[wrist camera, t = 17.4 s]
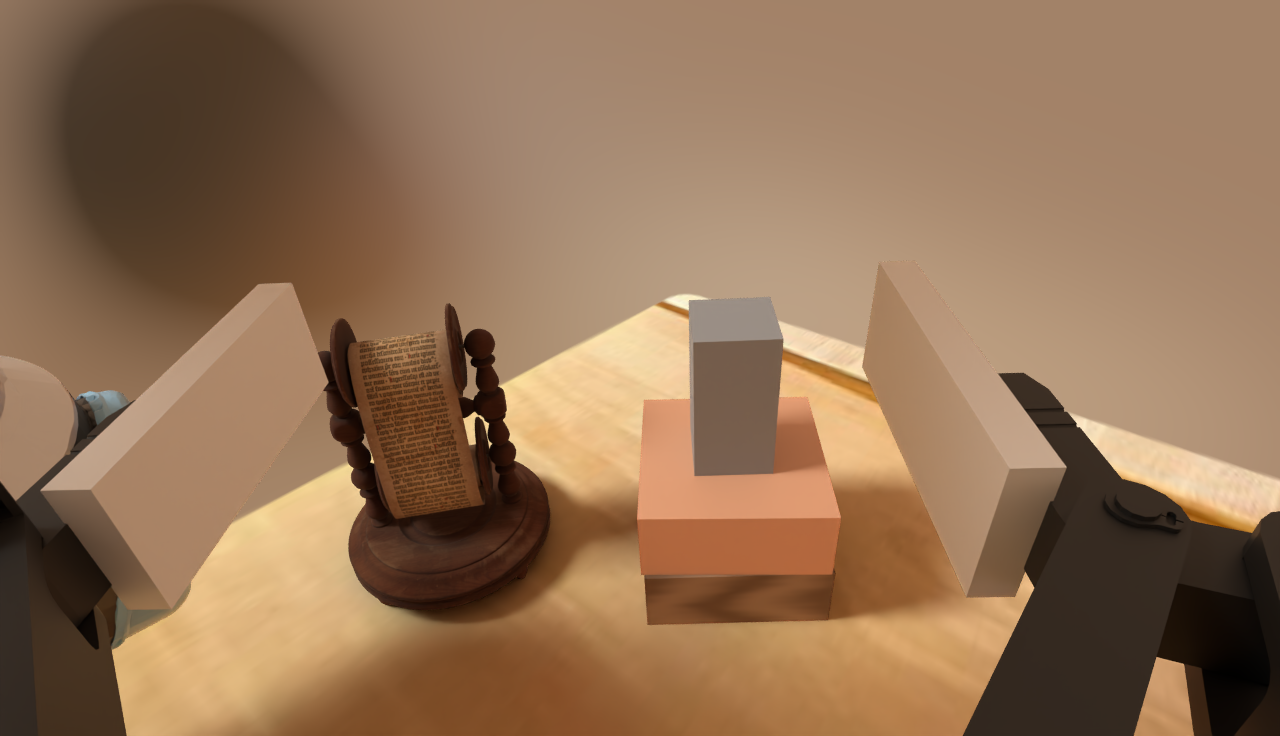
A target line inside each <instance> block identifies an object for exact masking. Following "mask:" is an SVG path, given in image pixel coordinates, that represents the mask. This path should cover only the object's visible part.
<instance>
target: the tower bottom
mask: <svg viewBox="0 0 1280 736" xmlns="http://www.w3.org/2000/svg"><path fill="white" fill-rule="evenodd" d="M834 579H835V571H834V567H833V573H832V575H645V593H646V608H647V622H648V625H658V624H697V623H735V622H774V621H812V620H828V615H829V609H830V603H831V597H832V591H833V585H834Z"/></svg>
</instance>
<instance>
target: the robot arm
mask: <svg viewBox="0 0 1280 736" xmlns="http://www.w3.org/2000/svg"><path fill="white" fill-rule="evenodd" d="M862 367H863V369H864V372H865V374H866V376H867V378H868V381H869V383H870V385H871V387H872V389H873V392H874V394H875V396H876V398H877V401H878V403H879V405H880V407H881V409H882V412H883V414H884V416H885V418H886V420H887V423H888V425H889V427H890V429H891V432H892V434H893V436H894V438H895V440H896V443H897V445H898V447H899V449H900V452H901V454H902V456H903V458H904V460H905V463H906V465H907V467H908V469H909V472H910V474H911V476H912V478H913V480H914V483H915V485H916V487H917V489H918V492H919V494H920V496H921V498H922V500H923V503H924V505H925V507H926V509H927V512H928V514H929V516H930V518H931V520H932V523H933V525H934V527H935V529H936V531H937V534H938V536H939V538H940V540H941V543H942V545H943V547H944V549H945V551H946V554H947V556H948V558H949V560H950V563H951V565H952V567H953V569H954V571H955V574H956V576H957V578H958V580H959V583H960V585H961V587H962V589H963V591H964V594H965V596H966V597H1015V596H1016V593H1017V591H1018V588H1019V586H1020V583H1021V581H1022V578H1023V576H1024V573H1025V572H1026V573H1027V575H1028V577H1029V579H1030V581H1031V582H1032V584H1033V586H1034V590H1033V592H1032V594H1031V596H1030V598H1029V600H1028V602H1027V605H1026V607H1025V609H1024V611H1023V613H1022V615H1021V617H1020V619H1019V621H1018V623H1017V625H1016V627H1015V629H1014V631H1013V633H1012V635H1011V637H1010V640H1009V642H1008V644H1007V646H1006V648H1005V650H1004V652H1003V654H1002V656H1001V658H1000V660H999V662H998V664H997V666H996V668H995V670H994V672H993V675H992V677H991V679H990V681H989V683H988V685H987V687H986V689H985V691H984V693H983V695H982V697H981V699H980V701H979V703H978V705H977V707H976V710H975V712H974V714H973V716H972V718H971V720H970V722H969V724H968V726H967V728H966V730H965V732H964V734H963V736H1134V732H1135V729H1136V726H1137V722H1138V719H1139V715H1140V712H1141V708H1142V705H1143V701H1144V698H1145V694H1146V691H1147V688H1148V684H1149V681H1150V677H1151V674H1152V670H1153V667H1154V663H1155V660H1156V657H1159V658H1163V659H1167V660H1171V661H1175V662H1179V663H1183V664H1184V666H1185V673H1186V680H1187V688H1188V695H1189V702H1190V709H1191V717H1192V724H1193V731H1194V736H1280V511H1278V512H1271V513H1270V514H1268V515H1267V516H1265V517H1264V518H1263V519H1261V521H1260V522H1259V524H1258V525H1257V527H1256V528H1255V530H1254V531H1253V533H1249V532H1244V531H1239V530H1234V529H1229V528H1224V527H1219V526H1213V525H1208V524H1203V523H1198V522H1195V521H1191V520H1190V519H1189V518H1188V516H1187V515H1186V513H1185V512H1184V511H1183V509H1182V508H1181V507H1180V506H1179V505H1178V504H1176V503H1175V502H1174V501H1172V500H1171V499H1170V498H1169V497H1167V496H1166V495H1164V494H1162V493H1160V492H1158V491H1156V490H1154V489H1152V488H1150V487H1148V486H1146V485H1143V484H1139V483H1135V482H1132V481H1128V480H1124V479H1122V478H1121V477H1120V476H1119V475H1118V473H1117V472H1116V471H1115V470H1114V469H1113V467H1112V466H1111V465H1110V464H1109V462H1108V461H1107V460H1106V459H1105V458H1104V456H1103V455H1102V454H1101V453H1100V451H1099V450H1098V449H1097V448H1096V447H1095V445H1094V444H1093V443H1092V442H1091V440H1090V439H1089V438H1088V437H1087V436H1086V434H1085V433H1084V432H1083V431H1082V429H1081V428H1080V427H1077V426H1076V424H1077V423H1076V422H1075V421H1074V420H1073V418H1072V417H1071V416H1070V415H1069V414H1068V412H1064V407H1063V406H1062V405H1061V404H1060V403H1059V401H1058V400H1057V399H1056V398H1055V396H1054V395H1053V394H1052V393H1051V391H1049V389H1048V388H1046V387H1045V386H1043V385H1041V384H1040V383H1038V382H1037V381H1035V380H1034V379H1032V378H1031V377H1029V376H1028V375H1026V374H1024V373H1002V374H998V373H997V372H996V370H995V369H994V368H993V366H992V365H991V364H990V362H989V361H988V360H987V358H986V357H985V356H984V354H983V353H982V351H981V350H980V349H979V347H978V346H977V345H976V343H975V342H974V341H973V339H972V338H971V337H970V335H969V334H968V333H967V331H966V330H965V328H964V327H963V326H962V324H961V323H960V322H959V320H958V319H957V318H956V316H955V315H954V313H953V312H952V311H951V309H950V308H949V307H948V305H947V304H946V303H945V301H944V300H943V298H942V297H941V296H940V294H939V293H938V292H937V290H936V289H935V288H934V286H933V285H932V283H931V282H930V281H929V279H928V278H927V277H926V275H925V274H924V273H923V271H922V270H921V269H920V267H919V266H918V264H917V263H916V262H915V261H890V262H879V265H878V272H877V278H876V284H875V291H874V297H873V303H872V309H871V316H870V322H869V328H868V334H867V340H866V347H865V353H864V359H863V366H862ZM327 384H328V380H327V377H326V374H325V371H324V369H323V366H322V363H321V361H320V358H319V355H318V353H317V350H316V347H315V344H314V342H313V339H312V337H311V334H310V331H309V328H308V326H307V323H306V320H305V317H304V315H303V312H302V309H301V307H300V304H299V301H298V299H297V296H296V293H295V290H294V288H293V285H292V283H276V284H258V285H257V286H256V287H255V288H254V289H253V290H252V291H251V292H250V293H249V294H248V295H247V296H246V297H245V298H244V299H242V300H241V301H240V302H239V303H238V304H237V305H236V306H235V307H234V308H233V309H232V310H231V311H230V312H229V313H228V314H227V315H226V316H224V317H223V318H222V319H221V320H220V321H219V322H218V323H217V324H216V325H215V326H214V327H213V328H212V329H211V330H210V331H209V332H208V333H206V334H205V335H204V336H203V337H202V338H201V339H200V340H199V341H198V342H197V343H196V344H195V345H194V346H193V347H192V348H191V349H190V350H189V351H188V352H186V353H185V354H184V355H183V356H182V357H181V358H180V359H179V360H178V361H177V362H176V363H175V364H174V365H173V366H172V367H170V369H168V370H167V371H166V372H165V373H164V374H163V375H162V376H161V377H160V378H159V379H158V380H157V381H156V382H155V383H154V384H152V385H151V386H150V388H148V389H147V390H146V391H145V392H144V393H143V394H142V395H141V396H140V397H139V398H138V399H137V400H134V401H133V402H131V403H130V402H129V401H128V399H127V398H126V397H125V396H124V394H123V393H120V392H116V391H112V390H110V391H104V392H98V393H96V392H91V391H89V392H87V393H84V394H80V395H79V396H78V397H77V399H76V400H74V398H73V397H72V396H71V394H70V393H69V392H68V390H67V389H66V388H65V387H64V385H63V384H62V383H60V381H58V379H57V378H56V377H55V376H54V375H52V374H51V373H49V372H48V371H46V370H45V369H43V368H42V367H39V366H37V365H34V364H32V363H29V362H27V361H23V360H19V359H16V358H13V357H7V356H1V355H0V736H127V735H126V729H125V724H124V718H123V712H122V707H121V701H120V695H119V689H118V684H117V678H116V672H115V667H114V661H113V655H112V650H113V649H115V648H117V647H119V646H120V645H121V644H122V643H123V642H124V640H125V639H126V638H128V637H130V636H132V635H134V634H136V633H138V632H140V631H141V630H143V629H145V628H147V627H149V626H151V625H153V624H155V623H157V622H158V621H160V620H162V619H164V618H166V617H168V616H169V615H171V614H172V613H174V612H175V611H176V610H177V609H179V608H180V607H181V605H182V604H183V603H184V602H185V600H186V598H187V596H188V594H189V592H190V588H191V581H192V579H193V578H194V576H195V575H196V573H197V572H198V570H199V569H200V568H201V566H202V565H203V563H204V562H205V560H206V559H207V557H208V556H209V555H210V553H211V552H212V550H213V549H214V547H215V546H216V544H217V543H218V542H219V540H220V539H221V537H222V536H223V534H224V533H225V531H226V530H227V529H228V527H229V526H230V524H231V523H232V521H233V520H234V518H235V517H236V516H237V514H238V513H239V511H240V510H241V508H242V507H243V505H244V504H245V502H246V501H247V500H248V498H249V497H250V495H251V494H252V492H253V491H254V489H255V488H256V487H257V485H258V484H259V482H260V481H261V479H262V478H263V476H264V475H265V474H266V472H267V470H268V469H269V468H270V466H271V465H272V463H273V462H274V461H275V459H276V458H277V456H278V455H279V453H280V452H281V450H282V449H283V447H284V446H285V445H286V443H287V442H288V440H289V439H290V437H291V436H292V435H293V433H294V432H295V430H296V429H297V427H298V426H299V424H300V423H301V422H302V420H303V419H304V417H305V416H306V414H307V413H308V411H309V410H310V408H311V407H312V405H313V404H314V403H315V401H316V400H317V398H318V397H319V395H320V394H321V392H322V391H323V390H324V388H325V387H326V385H327Z"/></svg>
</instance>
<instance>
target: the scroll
mask: <svg viewBox="0 0 1280 736" xmlns="http://www.w3.org/2000/svg"><path fill="white" fill-rule="evenodd" d="M445 326H446V330H440V331H433V332H426V333H418V334H412V335H405V336H398V337H391V338H384V339H377V340H370V341H363V342H357V341H356V338H355V336H354V333H353V331H352V329H351V327H350V325H349V324H348V322H347V321H346V320H345V319H342V318H340V319H337V320H336V321H335V323H334V325H333V326H332V329H331V335H330V352H329V351H321V352H318V355H319V358H320V361H321V363H322V366H323V369H324V371H325V374H326V377H327V380H328V384H327V385H326V387H325V388H324V390H323V391H327V408H328V410H329V412H331V413H332V414H333V415H332V417H331V418H330V430H331V433H332V436H333V438H334V439H336V440H337V441H339V442H341V444H342V445H343V446H346V447H348V449H347V458H348V463H349V465H350V466H351V467H353V468H354V469H353V471H352V473H351V480H352V483H353V484H354V485H355V486H356V487H357V488H358V489H361V490H360V495H361V496H362V497H363V498H366V504H365V505H364V507H363V508H362V509H361V511H360V513H359V514H358V516H357V518H356V520H355V521H354V524H353V526H352V529H351V533H350V536H349V557H350V561H351V564H352V566H353V568H354V571H355V574H356V576H357V578H358V580H359V581H360V583H361V584H362V585H363V587H364V588H365V589H366V590H367V591H368V592H369V593H371V594H372V595H373V596H375V597H376V598H378V599H379V600H380V602H381V603H383V604H385V605H390V604H391V605H394V606H397V607H402V608H407V609H416V610H434V609H443V608H450V607H454V606H459V605H463V604H466V603H469V602H472V601H475V600H477V599H480V598H482V597H484V596H486V595H488V594H491V593H493V592H494V591H496V590H498V589H500V588H501V587H503V586H504V585H506V584H507V583H509V582H510V581H512V580H513V579H514V578H515V577H516V576H517V577H518V578H519V579H522V578H524V577H525V576H526V573H527V568H528V565H529V564H530V563H531V562H532V561H533V559H534V558H535V557H536V555H537V554H538V552H539V551H540V549H541V547H542V546H543V543H544V541H545V539H546V536H547V533H548V530H549V525H550V508H549V503H548V497H547V493H546V491H545V488H544V486H543V484H542V482H541V481H540V480H539V478H538V477H537V476H536V475H535V474H534V473H533V472H532V471H531V470H530V469H528V468H527V467H525V466H524V465H522V464H520V463H518V462H516V461H514V459H515V456H516V449H515V446H514V445H513V443H511V442H510V441H509V440H508V439H509V436H510V433H509V430H508V428H507V426H506V425H505V423H504V422H503V419H504V418H505V415H506V414H505V412H506V411H507V408H506V400H505V394H504V390H503V389H502V388H500V387H498V384H499V379H498V376H497V374H496V372H495V371H494V369H493V367H492V364H493V363H494V362H495V357H494V356H493V355H492V354H491V353H492V352H493V350H494V347H495V341H494V339H493V337H492V335H491V334H490V333H489V332H488V331H486V330H483V329H475V330H472V331H471V332H469V333H468V334H467V336H466V338H465V340H464V344H463V339H462V335H461V330H460V325H459V321H458V317H457V314H456V311H455V309H454V307H453V306H451V304H446V306H445ZM464 348H465V350H466V352H467V353H468V354H469V356H471V357H473V358H472V359H471V365H472V366H474V367H476V368H477V373H476V385H477V387H478V389H479V390H480V391H479V392H478V394H477V395H476V396H475V397H474V400H471V399H468V398H466V397H463V390H464V389H465V387H466V386H467V367H466V358H465V351H464ZM352 407H358V409H359V411H358V410H356V409H352ZM473 412H476V413H477V414H478V415H481V416H482V417H483V418H484V420H485V421H486V422H488V423H489V428H488V439H489V441H490V442H491V443H492V445H491V446H490V449H489V444H488V439H487V434H486V430H485V426H484V423H483V420H482V419H480V418H479V417H476V418H475V438H476V444H475V445H469V444H468V439H467V434H466V430H465V425H464V421H463V418H466V417H468V416H470V415H471V414H472V413H473ZM365 433H366V437H367V440H368V443H369V447H370V450H371V453H372V456H373V460H374V464H373V463H370V461H371V453H370V452H369V450H368V449H367V448H366V447H365V446H364V444H363V443H362V441H363V439H364V434H365Z"/></svg>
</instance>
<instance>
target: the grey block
mask: <svg viewBox="0 0 1280 736" xmlns="http://www.w3.org/2000/svg"><path fill="white" fill-rule="evenodd" d="M689 352H690V428H691V440H692V453H693V465H694V476H713V475H745V474H773V469H774V456H775V443H776V430H777V417H778V404H779V391H780V378H781V365H782V352H783V336H782V333H781V330H780V327H779V324H778V320H777V317H776V314H775V311H774V308H773V305H772V302H771V299H770V297H762V298H737V299H711V300H689Z"/></svg>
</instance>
